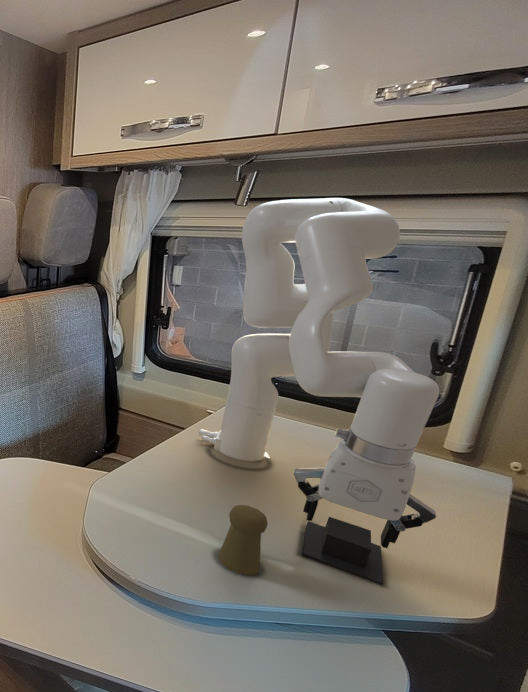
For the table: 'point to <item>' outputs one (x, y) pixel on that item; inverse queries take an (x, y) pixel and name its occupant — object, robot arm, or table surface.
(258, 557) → the cork
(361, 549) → the pad
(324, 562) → the base pad
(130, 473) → the table surface
